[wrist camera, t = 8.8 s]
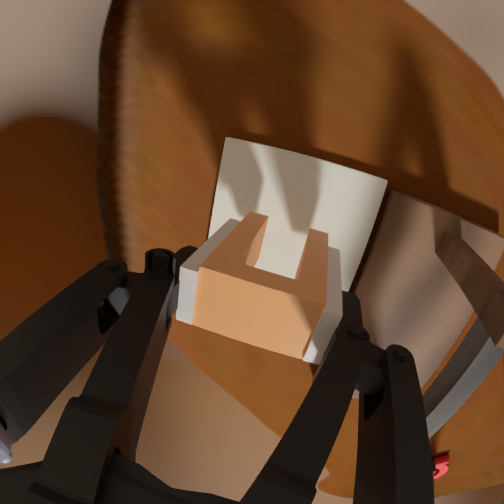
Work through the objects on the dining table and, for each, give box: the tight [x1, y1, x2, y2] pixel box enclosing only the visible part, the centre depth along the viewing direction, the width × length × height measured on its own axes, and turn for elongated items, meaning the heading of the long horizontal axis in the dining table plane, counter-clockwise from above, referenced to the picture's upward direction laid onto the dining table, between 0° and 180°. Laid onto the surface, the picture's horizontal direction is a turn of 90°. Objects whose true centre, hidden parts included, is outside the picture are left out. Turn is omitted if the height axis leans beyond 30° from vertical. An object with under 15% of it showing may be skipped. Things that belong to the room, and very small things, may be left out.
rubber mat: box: [208, 137, 388, 292], centre depth 21 cm, size 11×11×1 cm
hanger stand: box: [312, 189, 504, 438], centre depth 16 cm, size 10×18×12 cm, turn 169°
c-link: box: [193, 211, 328, 359], centre depth 16 cm, size 5×3×8 cm, turn 79°
